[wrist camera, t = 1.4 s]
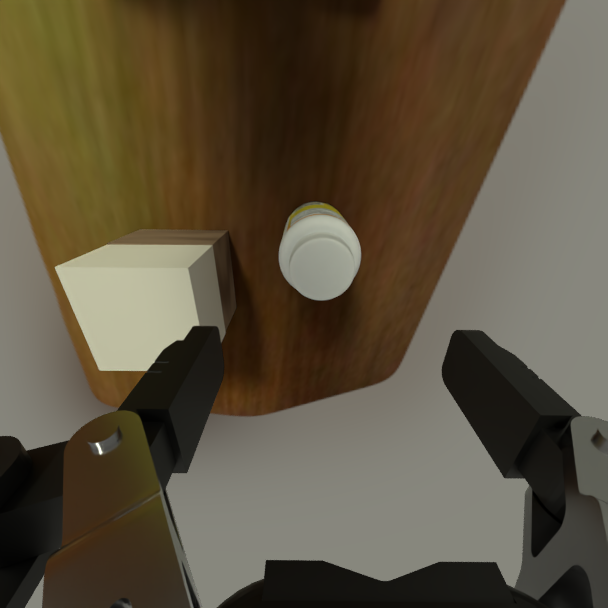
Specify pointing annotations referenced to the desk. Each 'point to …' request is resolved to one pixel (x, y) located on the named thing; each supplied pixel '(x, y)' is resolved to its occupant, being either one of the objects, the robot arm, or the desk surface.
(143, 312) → the tower top
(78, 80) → the desk surface
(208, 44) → the desk surface
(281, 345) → the desk surface
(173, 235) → the tower base
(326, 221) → the supplement bottle
